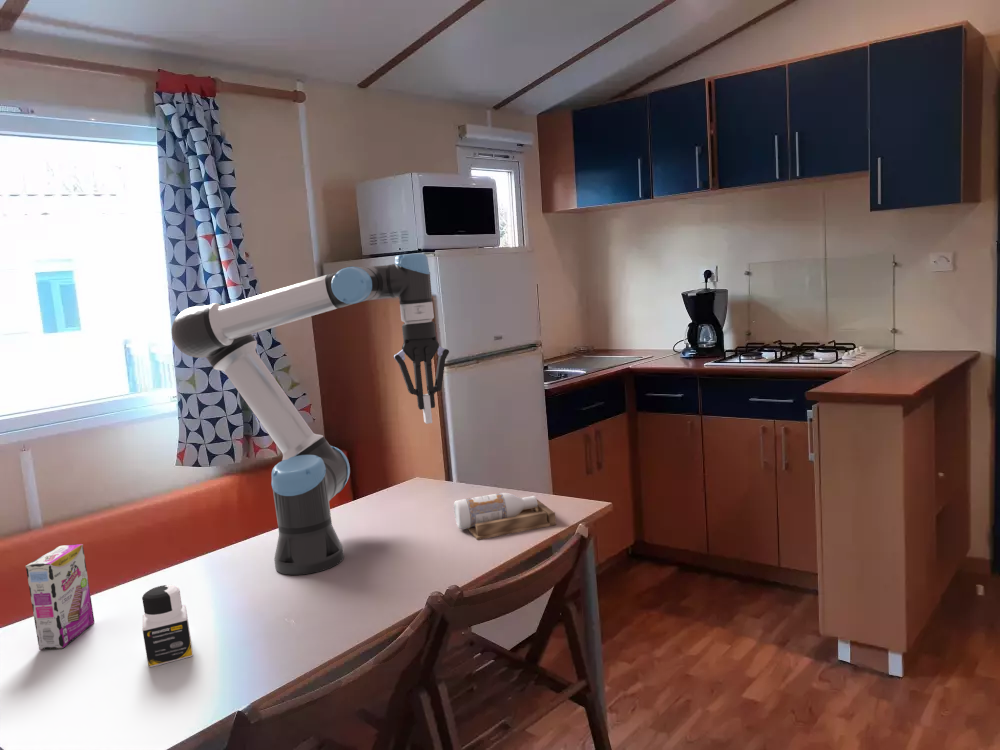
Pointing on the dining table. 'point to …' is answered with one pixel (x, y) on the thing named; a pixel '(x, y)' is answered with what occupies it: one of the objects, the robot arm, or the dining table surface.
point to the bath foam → (490, 508)
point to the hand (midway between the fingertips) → (428, 422)
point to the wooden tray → (516, 523)
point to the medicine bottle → (165, 626)
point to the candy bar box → (60, 596)
